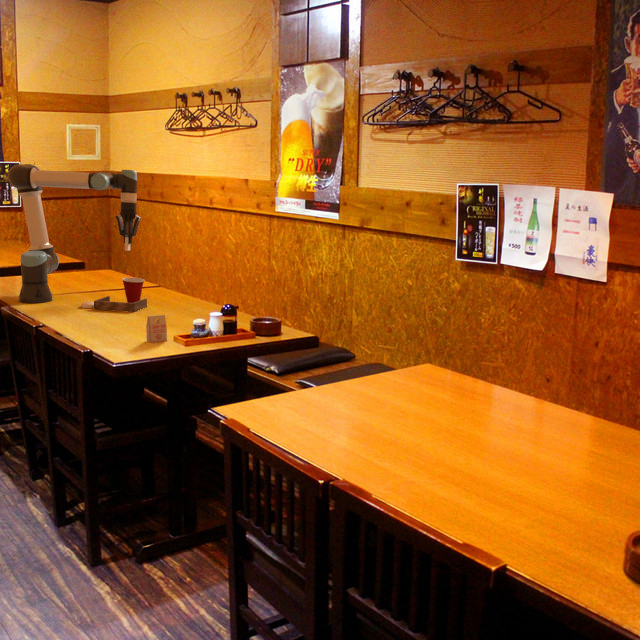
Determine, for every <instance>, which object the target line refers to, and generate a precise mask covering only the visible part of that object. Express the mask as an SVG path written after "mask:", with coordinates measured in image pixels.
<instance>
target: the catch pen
mask: <svg viewBox="0 0 640 640" xmlns="http://www.w3.org/2000/svg"><path fill="white" fill-rule="evenodd" d="M93 302H94V308H93V309H99V310H98V311H109V310H115V311H114V312H123V311H128V312H127V313H135V312H138V310H139V311H141V310H144V309H146V308H148V299H147V298H142V299H140V301H137V302H135V303H128V302H124V301H123V302H120V301H111V296H110V295H108V296H105V297H102V298H98V299H95V300H93ZM145 307H146V308H145ZM143 308H144V309H143ZM140 309H141V310H140Z"/></svg>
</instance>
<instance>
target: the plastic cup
mask: <svg viewBox="0 0 640 640" xmlns="http://www.w3.org/2000/svg"><path fill="white" fill-rule="evenodd" d="M121 280H122V284H123V288H124V293H125V299H126V303H135V302H137V301H140V300H141V297H142V291H143V286H144V284H145V281H146V280H145V279H144V278H139V277H123V278H121Z"/></svg>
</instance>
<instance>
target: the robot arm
mask: <svg viewBox="0 0 640 640" xmlns="http://www.w3.org/2000/svg"><path fill="white" fill-rule="evenodd" d="M7 180H8V182H9V184H10V185H11V186H12V187H13V188H14V189H16V192H17V194H18V195H19V196H20V197H21V199H22V203H23V205H22V206H23V209H24V215H25V219H26V225H27V229H28V236H29V240H30V247H29V248H28V251H25V252H23V253H21V254H20V259H19V260H20V261H19V262H20V271H21V272H20V273H21V288H20V292H19V295H18V299H19V300H18V301H19V302H20V301H22V302H21V303H24V302H32V303H31V304H39V303H38V302H42V303H48V302H51V300H52V301H53V299H54V298H53V293H52V292H51V289H50V285H49V279H48V276H49V275H51V274H53V273H54V272H55V271H56V270H57V269H58V266H59V264H60V260H59V255H57V253H56V252H55V248H54V245H53V244H51V243H50V241H49V240H50V239H49V233H48V229H47V224H46V218H45V213H44V208H43V203H42V198H41V197H42V196H41V194H42V193H43V192H44V190H43V187H44V188H45V187H46V188H47V187H49V188H62V189H63V188H64V189H65V188H66V189H67V188H68V189H81V190H83V189H84V190H85V189H86V190H97V191H103V190H109V189H111V190H120V201H121V202H120V211H119V214H118V215H116V216H115V219H116V222H117V226H118V231H119V232H118V233H119V236H122V237H123V244H124V251H126V252H127V251H131V245H132V244H133V237H136V236H137V232H138V229H139V224H140V221H141V220H142V217H140V216H139V215H138V214H137V206H138V205H137V199H138V198H137V197H138V196H137V195H138V194H137V192H138V173H137V170H134V169H122V170H121V172H120V173H115V172H114V173H113V172H82V171H81V172H80V171H79V172H78V171H62V170H44V169H41V168H39V166H37V165H34V164H30V163H25V164H21V163H20V164H15V165H13V166H12V167H10V168H9V169H8V173H7ZM47 301H48V302H47ZM33 302H34V303H33ZM35 302H37V303H35Z"/></svg>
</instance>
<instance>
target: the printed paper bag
mask: <svg viewBox="0 0 640 640" xmlns="http://www.w3.org/2000/svg"><path fill="white" fill-rule="evenodd" d="M146 319H147V320H146V326H145V327H146V342H148V343H149V344H155V342H156V343H163V342H164V341H166V342H168V336H167V335H168V333H167V332H168V330H167V329H168V328H167V322H166V321H167V320H166V315H165V314H161V315H149V316H147V318H146Z"/></svg>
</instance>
